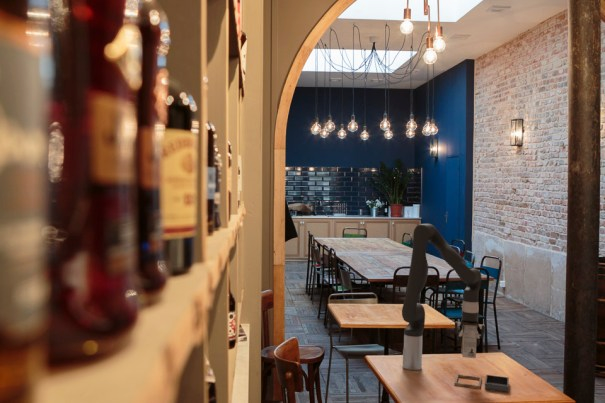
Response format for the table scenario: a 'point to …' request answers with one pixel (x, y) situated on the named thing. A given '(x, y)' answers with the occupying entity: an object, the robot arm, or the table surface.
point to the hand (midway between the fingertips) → (468, 344)
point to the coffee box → (469, 340)
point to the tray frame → (468, 378)
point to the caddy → (497, 383)
